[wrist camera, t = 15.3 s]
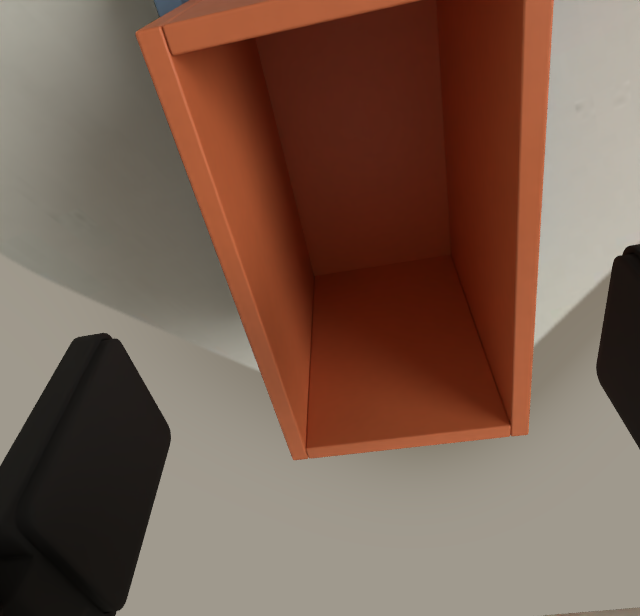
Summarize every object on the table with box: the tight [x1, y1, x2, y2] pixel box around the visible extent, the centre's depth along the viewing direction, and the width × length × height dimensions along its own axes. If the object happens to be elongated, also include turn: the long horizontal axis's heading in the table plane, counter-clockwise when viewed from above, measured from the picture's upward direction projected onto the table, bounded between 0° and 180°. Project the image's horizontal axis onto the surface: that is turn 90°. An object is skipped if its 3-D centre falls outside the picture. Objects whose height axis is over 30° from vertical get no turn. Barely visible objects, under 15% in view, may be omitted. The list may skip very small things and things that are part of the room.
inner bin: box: [136, 0, 554, 460], centre depth 16 cm, size 12×7×10 cm, turn 11°
